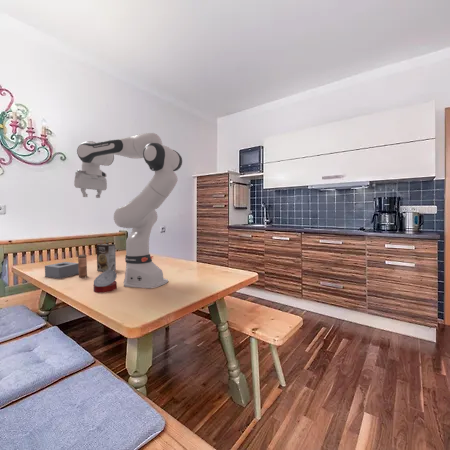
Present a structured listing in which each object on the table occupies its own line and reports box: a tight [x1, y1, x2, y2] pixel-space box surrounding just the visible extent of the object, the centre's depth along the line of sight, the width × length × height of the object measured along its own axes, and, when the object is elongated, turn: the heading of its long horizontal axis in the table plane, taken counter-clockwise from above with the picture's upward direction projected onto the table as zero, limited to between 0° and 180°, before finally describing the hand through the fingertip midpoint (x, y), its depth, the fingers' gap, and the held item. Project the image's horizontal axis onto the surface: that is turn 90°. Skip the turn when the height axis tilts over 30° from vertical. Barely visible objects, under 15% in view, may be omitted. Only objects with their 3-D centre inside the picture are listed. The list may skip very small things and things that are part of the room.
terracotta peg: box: [77, 254, 88, 279], centre depth 140 cm, size 4×4×12 cm
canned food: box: [93, 270, 118, 294], centre depth 118 cm, size 11×10×10 cm
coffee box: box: [96, 243, 117, 272], centre depth 155 cm, size 9×6×16 cm
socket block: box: [44, 261, 79, 280], centre depth 144 cm, size 12×12×6 cm
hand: (91, 197), depth 140 cm, fingers open, 8 cm apart
